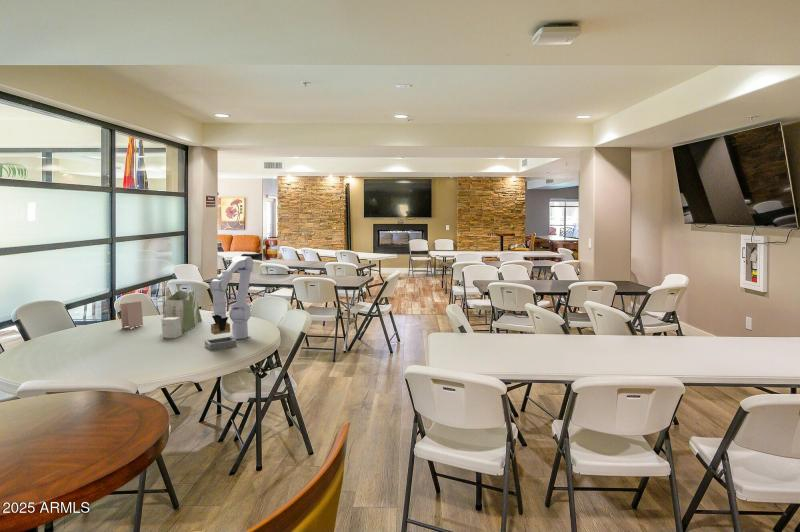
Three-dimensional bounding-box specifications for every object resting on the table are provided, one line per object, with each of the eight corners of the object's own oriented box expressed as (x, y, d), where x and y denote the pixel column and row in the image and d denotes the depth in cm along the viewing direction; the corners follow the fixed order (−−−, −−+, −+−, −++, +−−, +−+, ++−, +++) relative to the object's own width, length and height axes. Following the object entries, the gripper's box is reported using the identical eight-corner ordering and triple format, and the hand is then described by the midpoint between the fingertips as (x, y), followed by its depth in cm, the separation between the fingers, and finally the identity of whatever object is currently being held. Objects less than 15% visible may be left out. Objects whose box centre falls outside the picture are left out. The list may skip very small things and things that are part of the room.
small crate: (211, 332, 247) (210, 324, 246) (227, 330, 251) (226, 321, 251) (213, 334, 243) (213, 325, 242) (230, 332, 247) (229, 323, 247)
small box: (181, 335, 271) (180, 317, 270) (176, 338, 266) (175, 319, 265) (168, 335, 272) (167, 317, 271) (162, 338, 266) (161, 319, 265)
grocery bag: (187, 332, 278) (185, 292, 276) (162, 333, 276) (159, 293, 274) (203, 320, 310) (200, 284, 307) (180, 321, 308) (177, 285, 306)
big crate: (204, 346, 248) (204, 340, 248) (230, 341, 256) (230, 336, 255) (210, 350, 240) (209, 344, 240) (236, 345, 248) (236, 340, 247)
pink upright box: (142, 325, 299) (140, 301, 297) (146, 327, 294) (144, 302, 292) (121, 328, 291) (119, 303, 290) (125, 330, 286) (123, 305, 284)
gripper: (207, 302, 249) (208, 328, 250) (215, 306, 237) (216, 333, 239) (221, 300, 253) (222, 326, 255) (229, 304, 241) (231, 331, 243)
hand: (220, 329), depth 247 cm, fingers closed on small crate, 5 cm apart
